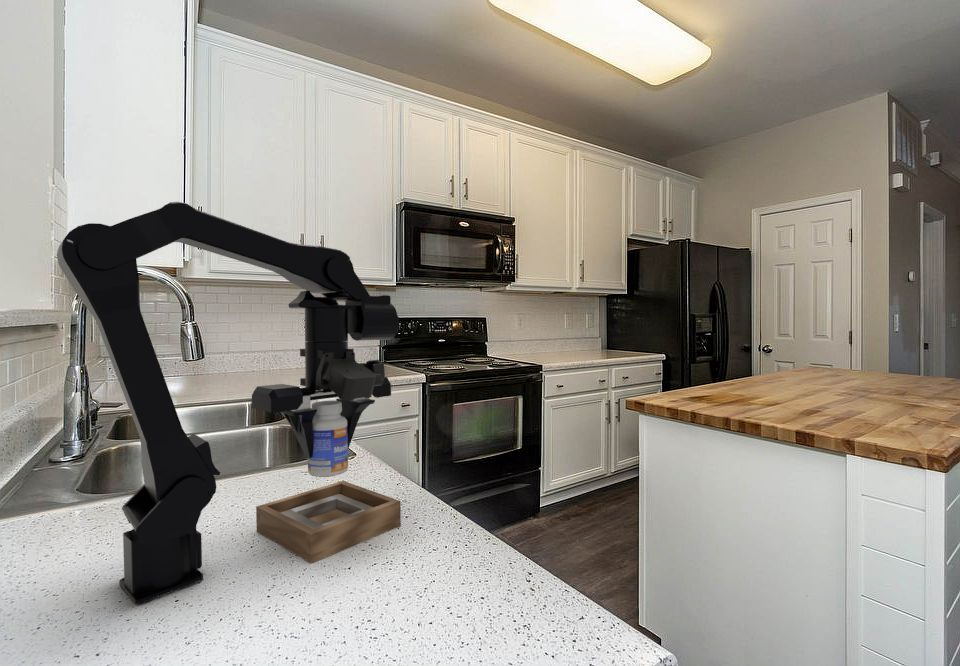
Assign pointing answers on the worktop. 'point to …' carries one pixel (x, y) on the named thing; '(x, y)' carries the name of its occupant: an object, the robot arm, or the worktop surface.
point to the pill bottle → (329, 440)
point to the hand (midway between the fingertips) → (327, 453)
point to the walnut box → (327, 519)
